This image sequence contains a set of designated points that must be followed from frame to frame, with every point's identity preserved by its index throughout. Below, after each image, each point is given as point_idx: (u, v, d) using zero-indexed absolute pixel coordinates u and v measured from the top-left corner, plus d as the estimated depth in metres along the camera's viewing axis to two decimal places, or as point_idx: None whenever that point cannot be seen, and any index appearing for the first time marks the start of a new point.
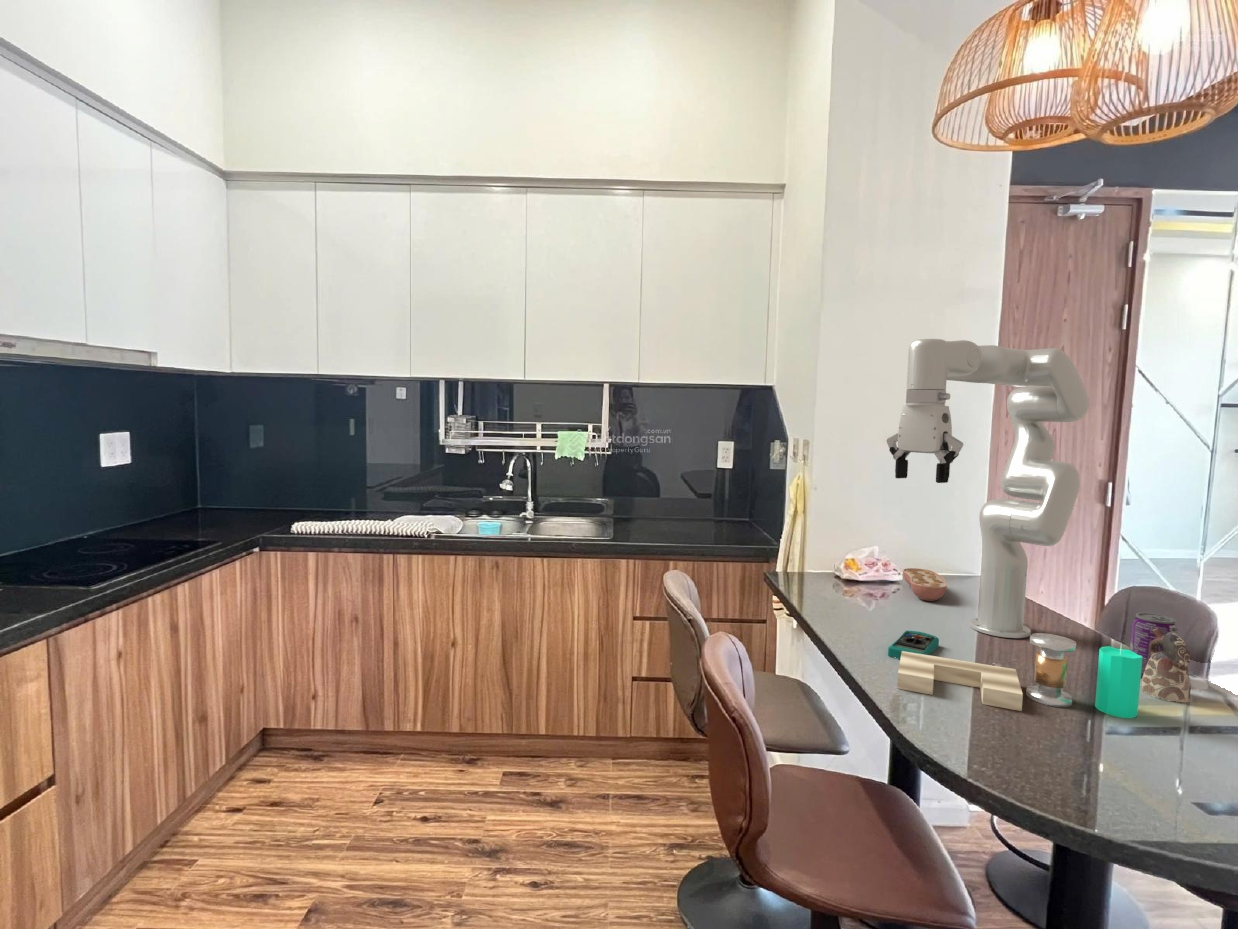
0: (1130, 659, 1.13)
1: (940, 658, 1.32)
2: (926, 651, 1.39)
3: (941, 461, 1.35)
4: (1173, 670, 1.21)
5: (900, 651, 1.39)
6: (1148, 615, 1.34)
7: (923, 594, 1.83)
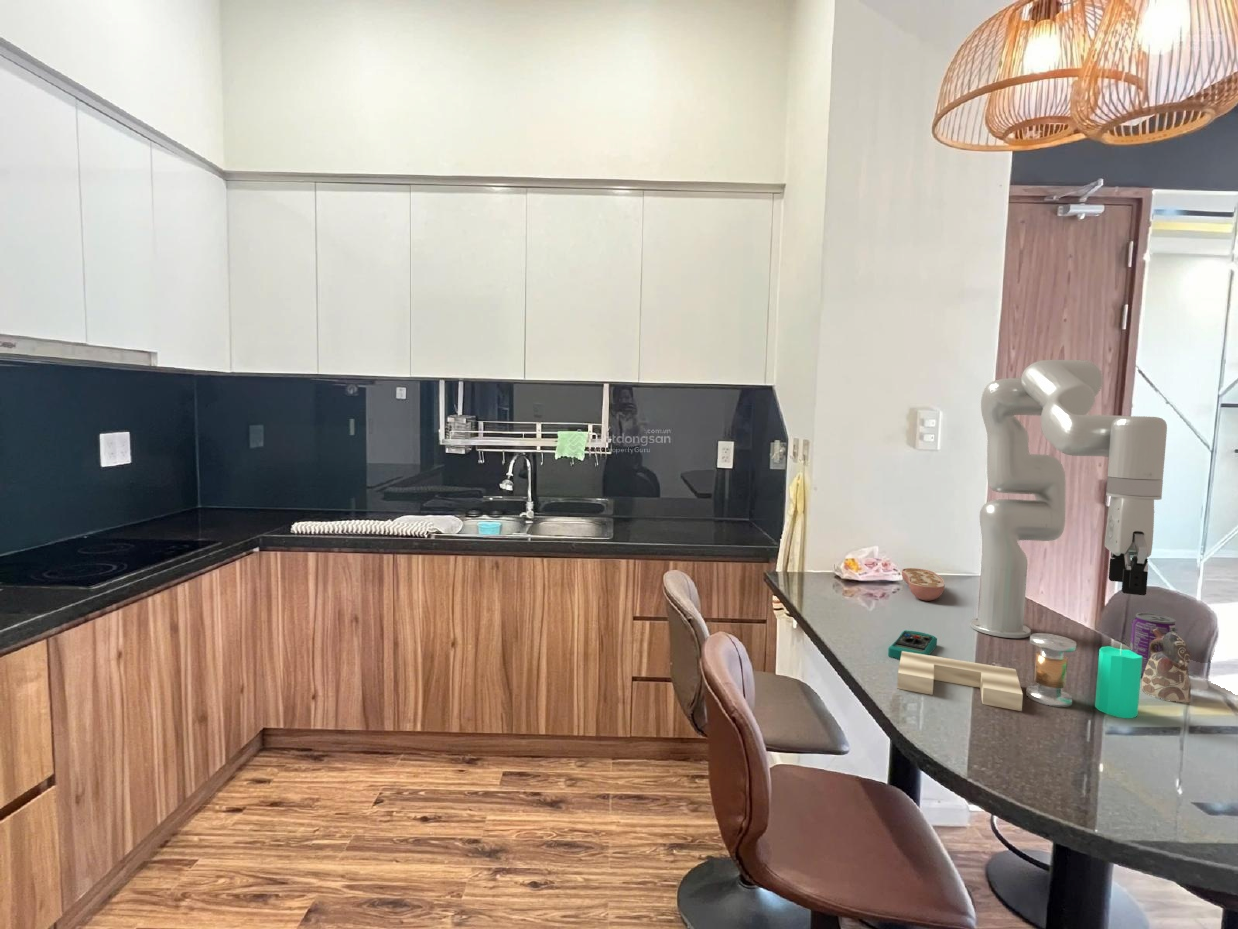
0: (1130, 659, 1.13)
1: (940, 658, 1.32)
2: (926, 651, 1.39)
3: None
4: (1174, 670, 1.21)
5: (900, 651, 1.39)
6: (1148, 615, 1.34)
7: (921, 594, 1.83)
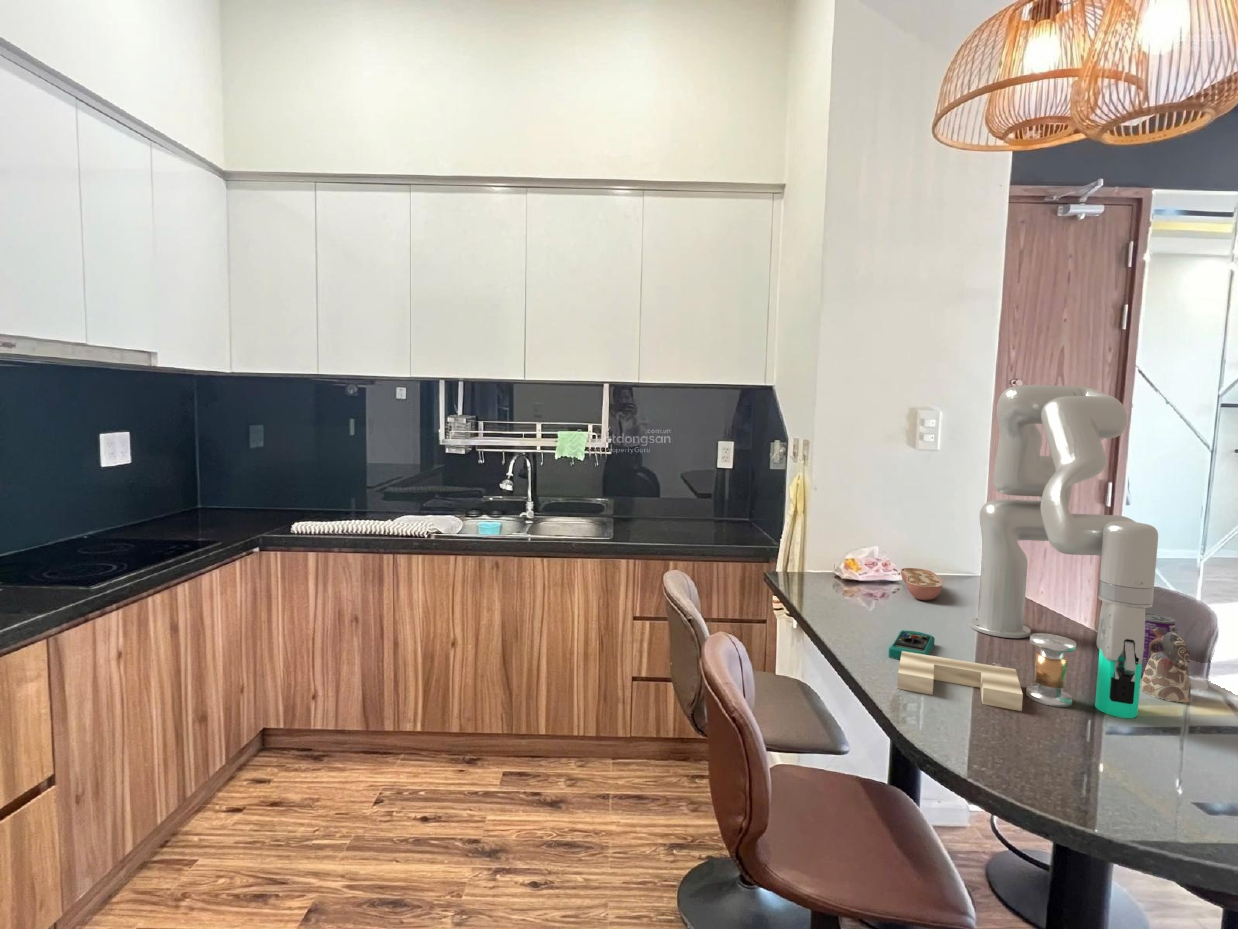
0: None
1: (940, 658, 1.32)
2: (926, 651, 1.39)
3: None
4: (1173, 670, 1.21)
5: (901, 652, 1.39)
6: (1148, 615, 1.34)
7: (918, 593, 1.83)
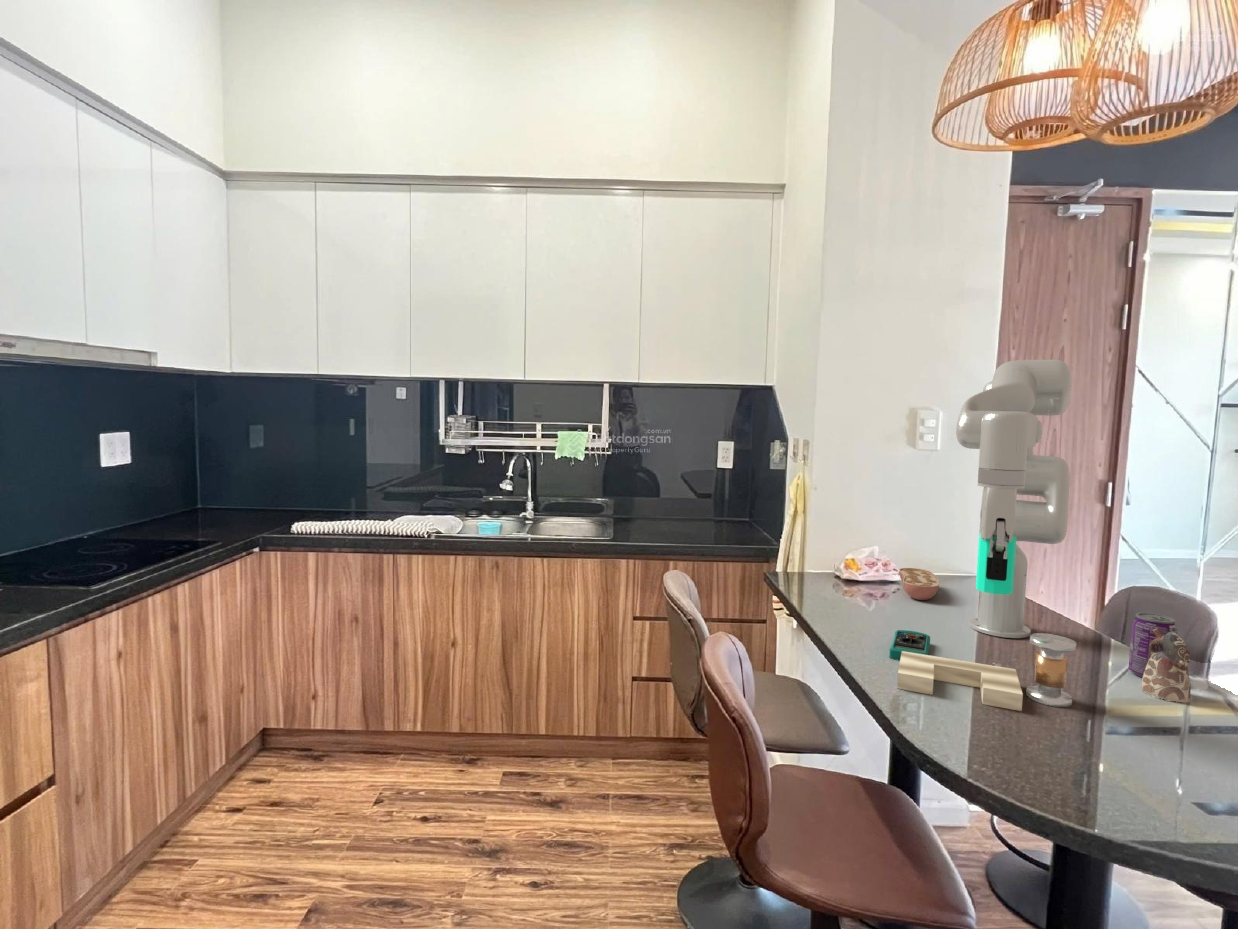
0: None
1: (940, 658, 1.32)
2: (926, 651, 1.39)
3: None
4: (1173, 670, 1.21)
5: None
6: (1148, 615, 1.34)
7: (914, 593, 1.83)
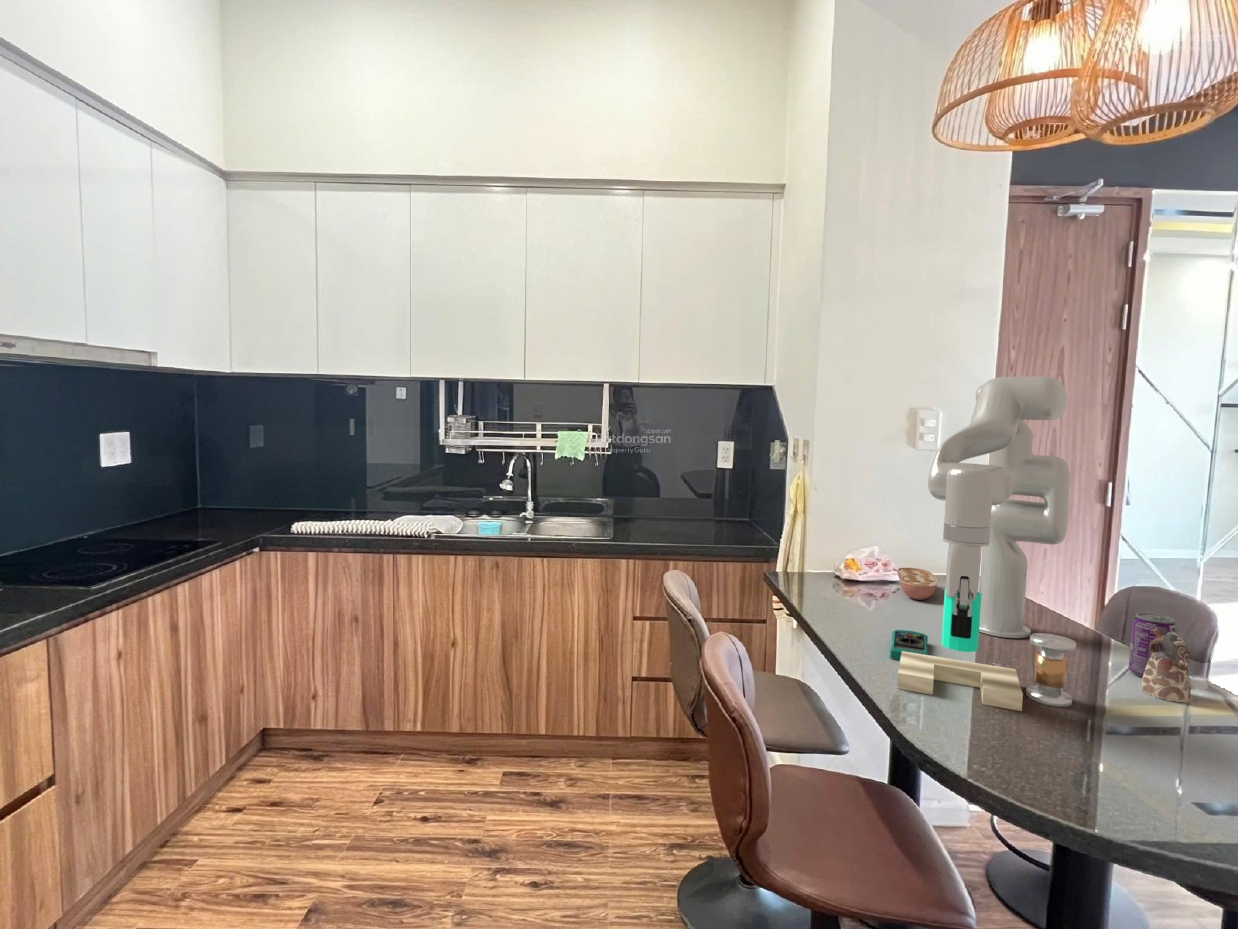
0: None
1: (940, 658, 1.32)
2: (927, 650, 1.39)
3: None
4: (1174, 670, 1.21)
5: None
6: (1148, 615, 1.34)
7: (912, 593, 1.84)
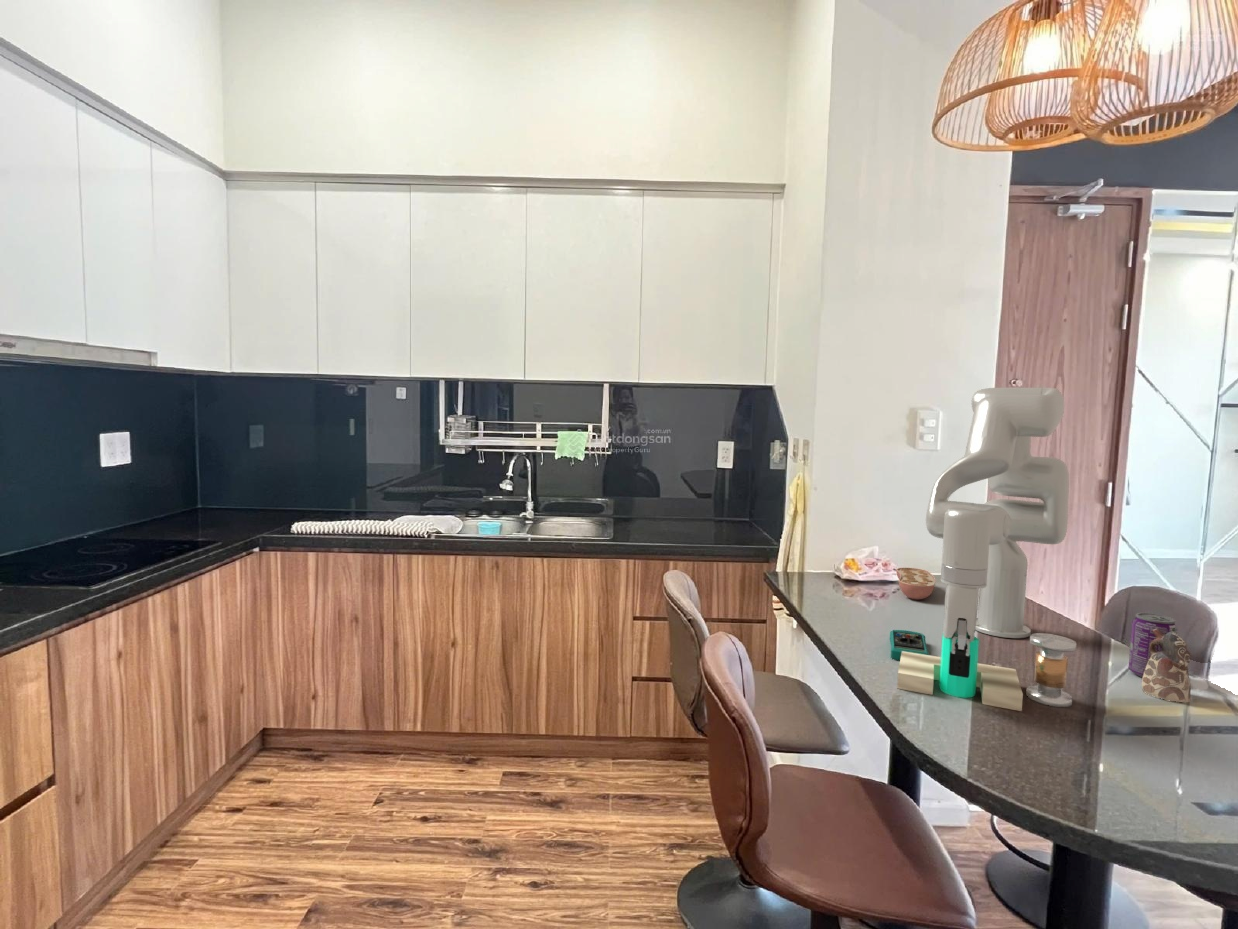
0: None
1: (940, 658, 1.32)
2: None
3: None
4: (1174, 670, 1.21)
5: None
6: (1148, 615, 1.34)
7: (909, 592, 1.84)
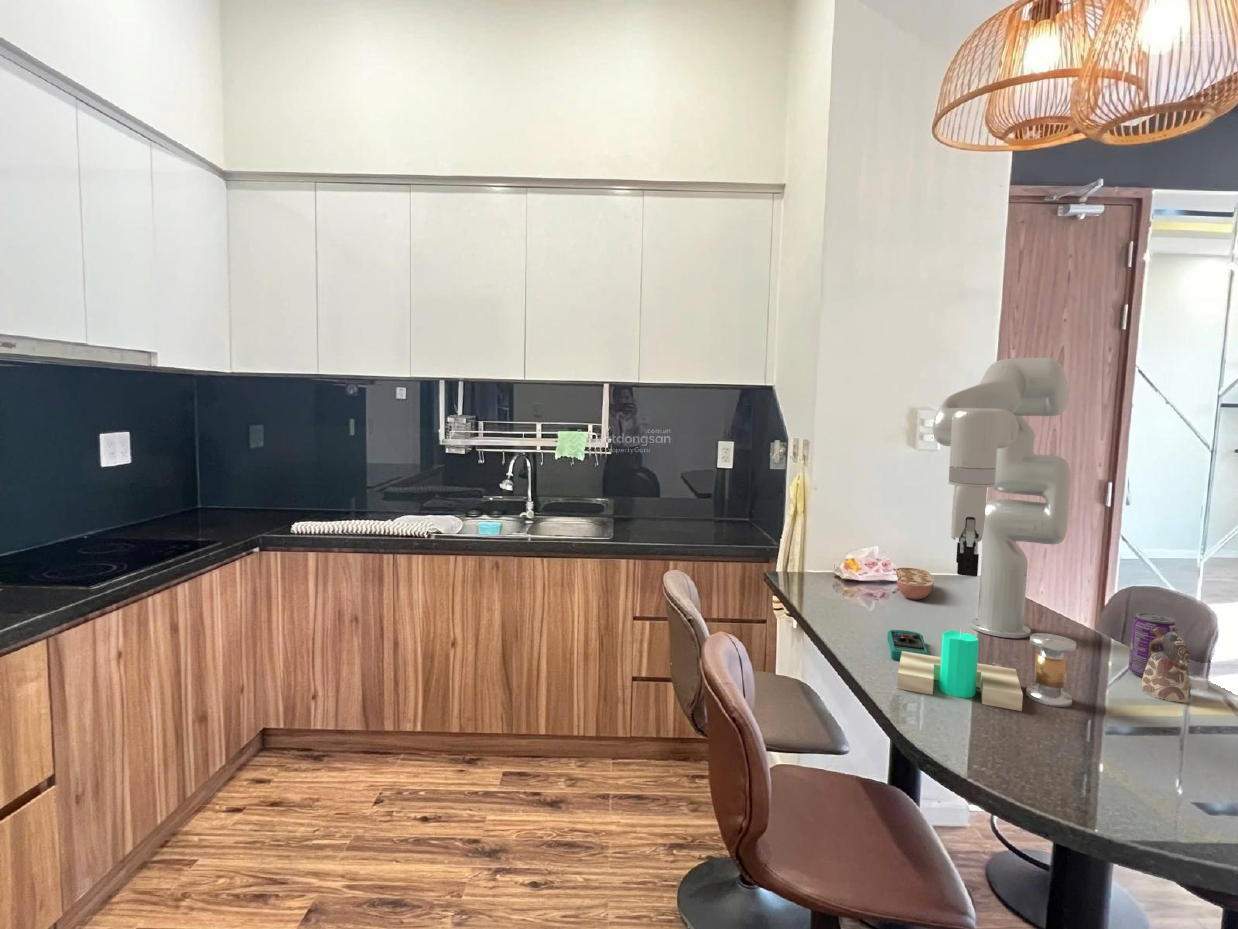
0: (965, 642, 1.20)
1: (940, 658, 1.32)
2: None
3: None
4: (1174, 670, 1.21)
5: None
6: (1148, 615, 1.34)
7: (907, 592, 1.84)
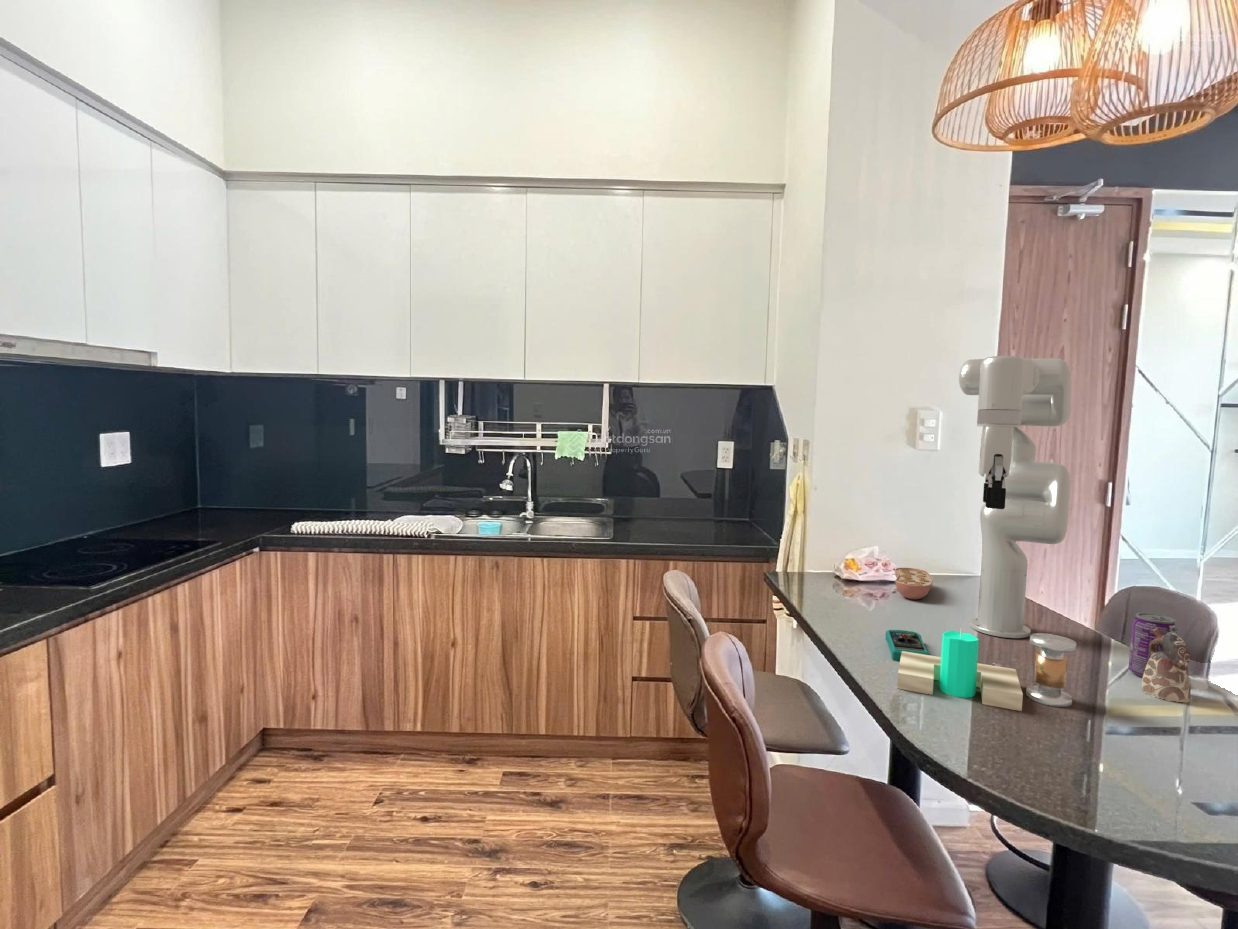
0: (965, 642, 1.20)
1: (940, 658, 1.32)
2: None
3: None
4: (1173, 670, 1.21)
5: None
6: (1148, 615, 1.34)
7: (905, 592, 1.84)
